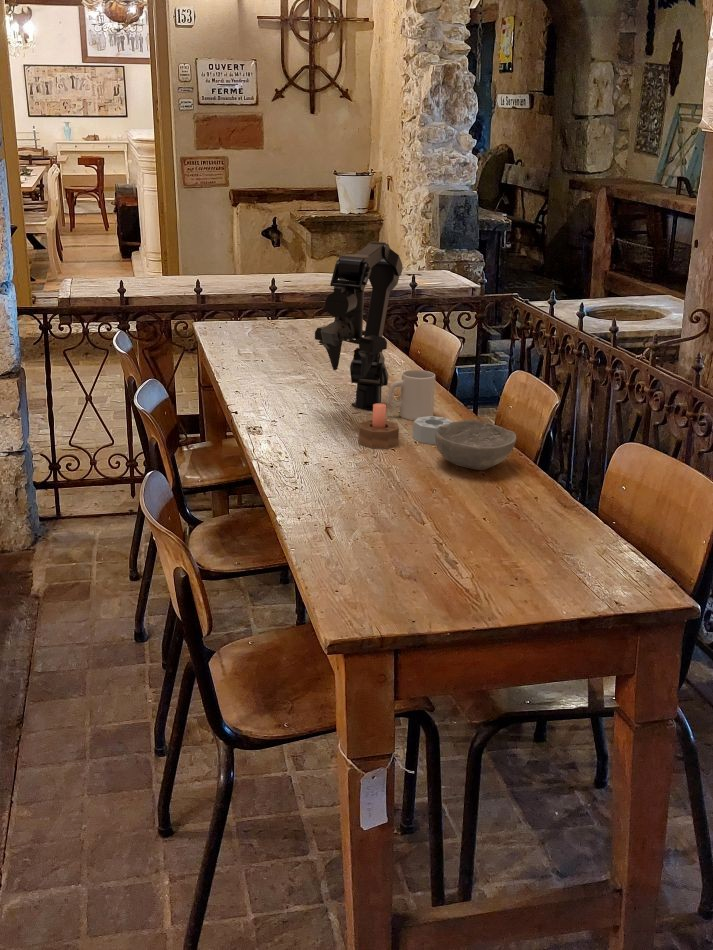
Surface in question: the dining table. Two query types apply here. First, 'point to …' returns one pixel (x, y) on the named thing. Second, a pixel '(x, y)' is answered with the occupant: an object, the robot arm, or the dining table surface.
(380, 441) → the walnut bead
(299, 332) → the dining table surface
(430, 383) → the mug
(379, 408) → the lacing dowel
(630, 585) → the dining table surface
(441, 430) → the bowl
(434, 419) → the slate bead
